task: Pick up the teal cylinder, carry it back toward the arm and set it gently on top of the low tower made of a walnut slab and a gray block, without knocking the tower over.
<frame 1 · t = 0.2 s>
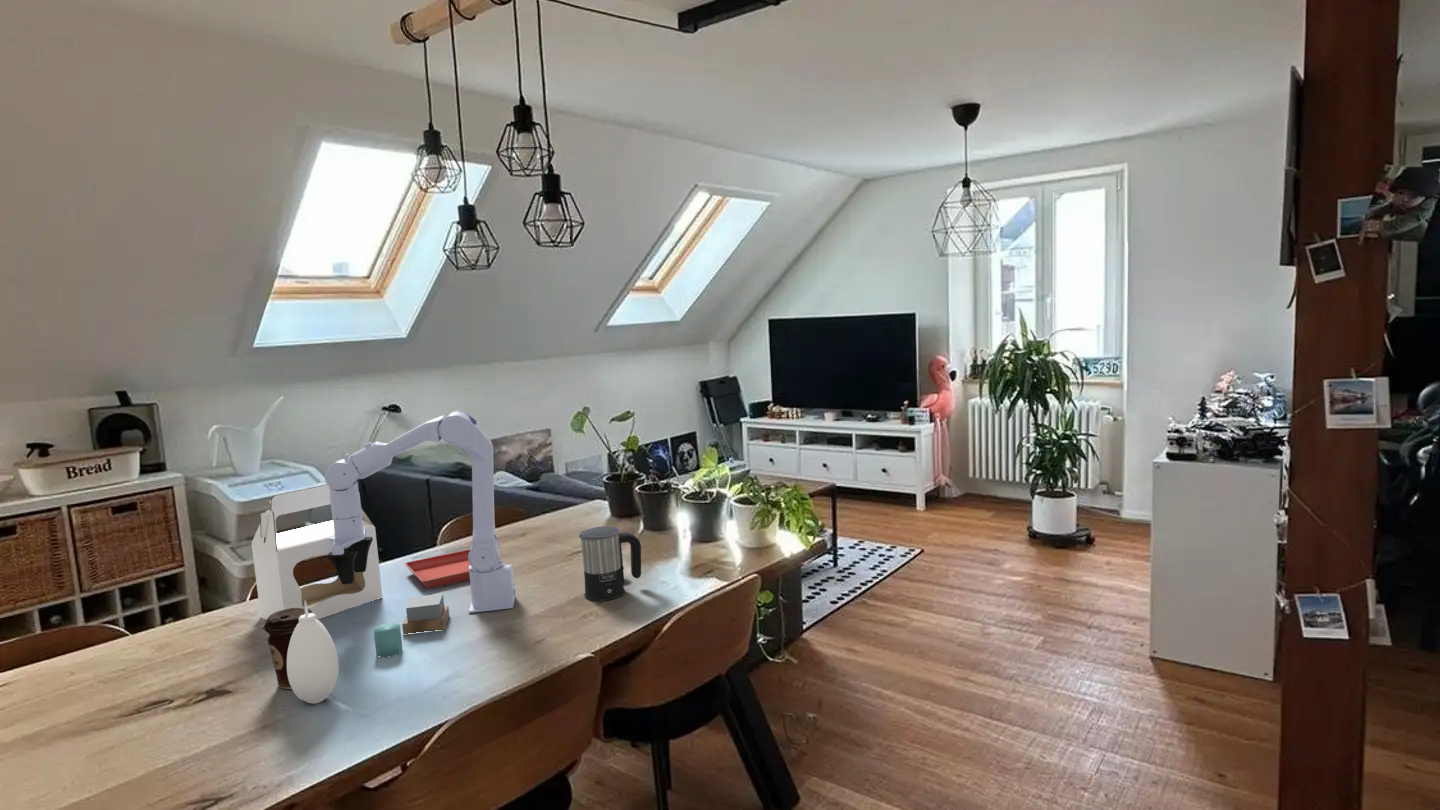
hand: (354, 577, 171), 10 cm above the table, tool pointing down, fingers open, 7 cm apart
plant saucer: (450, 576, 202), on the table
walnut slab: (427, 628, 168), on the table, touching gray block
coffee cup: (297, 683, 144), on the table
milk frother: (605, 589, 186), on the table
gable box: (323, 608, 182), on the table
gray block: (426, 614, 168), point 2 cm above the table, touching walnut slab
sauce bottle: (317, 702, 137), on the table
teal cylinder: (389, 652, 156), on the table
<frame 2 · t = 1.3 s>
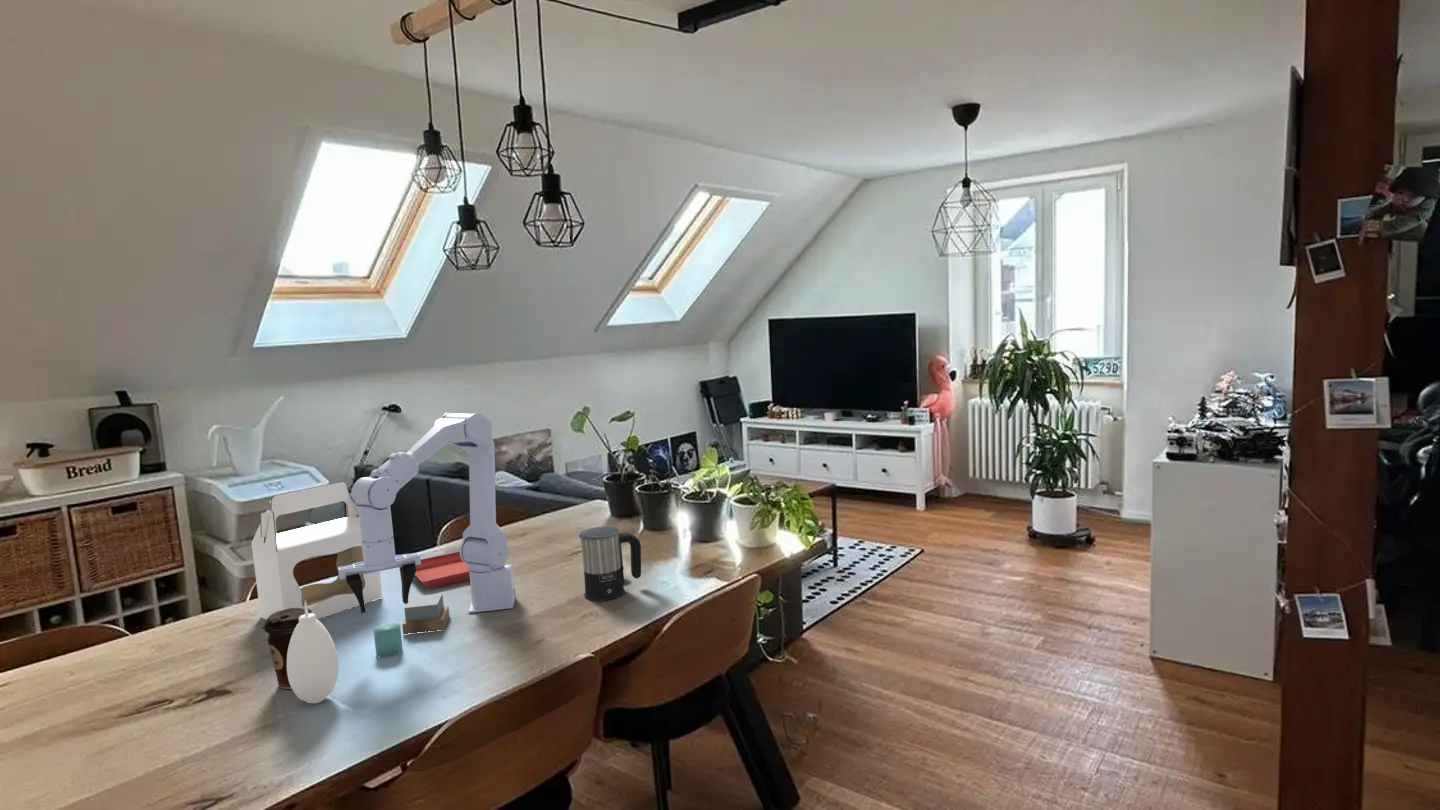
hand: (384, 606, 154), 9 cm above the table, tool pointing down, fingers open, 7 cm apart
walnut slab: (427, 628, 168), on the table
gray block: (425, 614, 168), point 2 cm above the table
everything else where it was.
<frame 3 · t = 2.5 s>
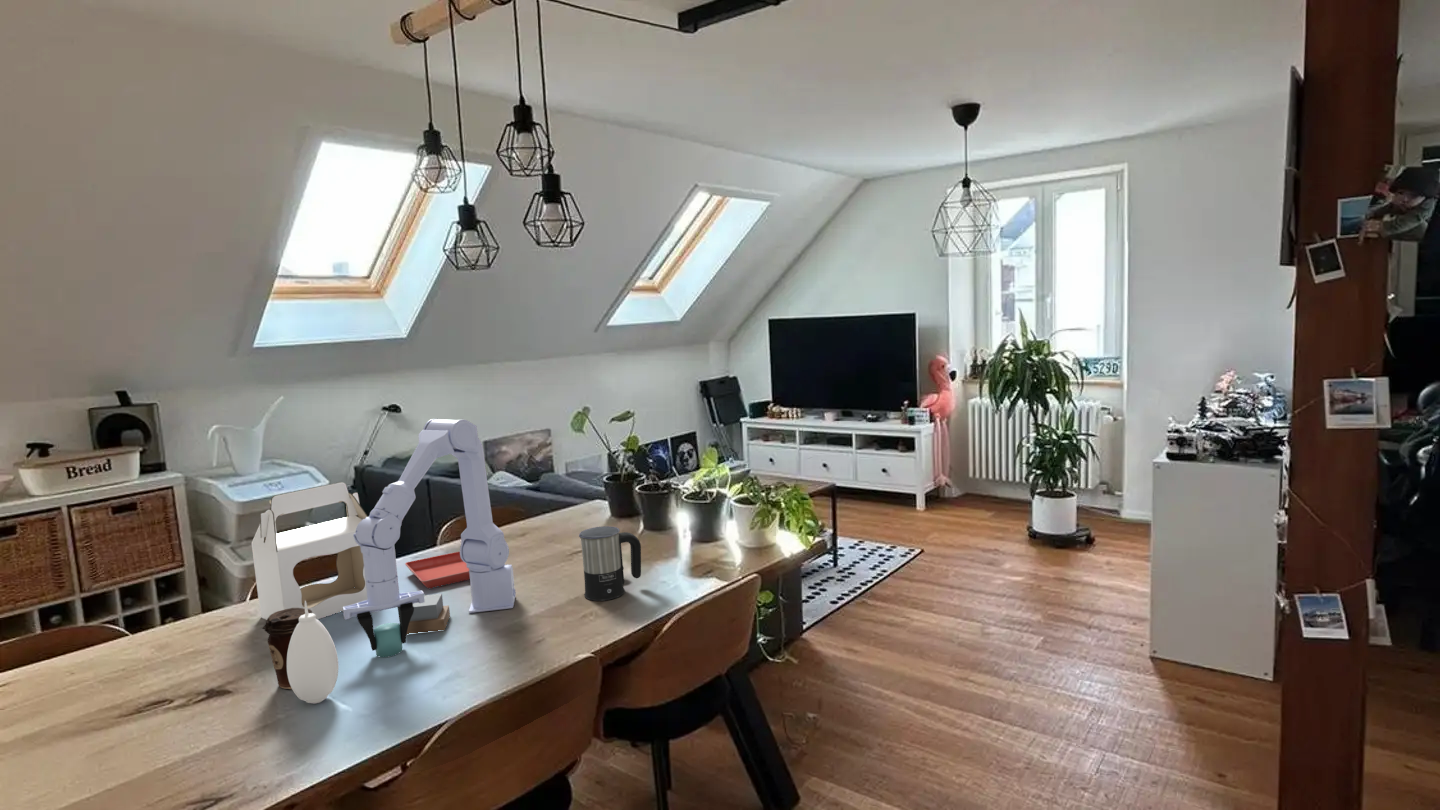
hand: (388, 645, 155), 1 cm above the table, tool pointing down, fingers closed on teal cylinder, 5 cm apart
walnut slab: (427, 627, 168), on the table, touching gray block
gray block: (424, 614, 168), point 3 cm above the table, touching walnut slab
teal cylinder: (389, 651, 156), on the table, touching gripper
everything else where it was.
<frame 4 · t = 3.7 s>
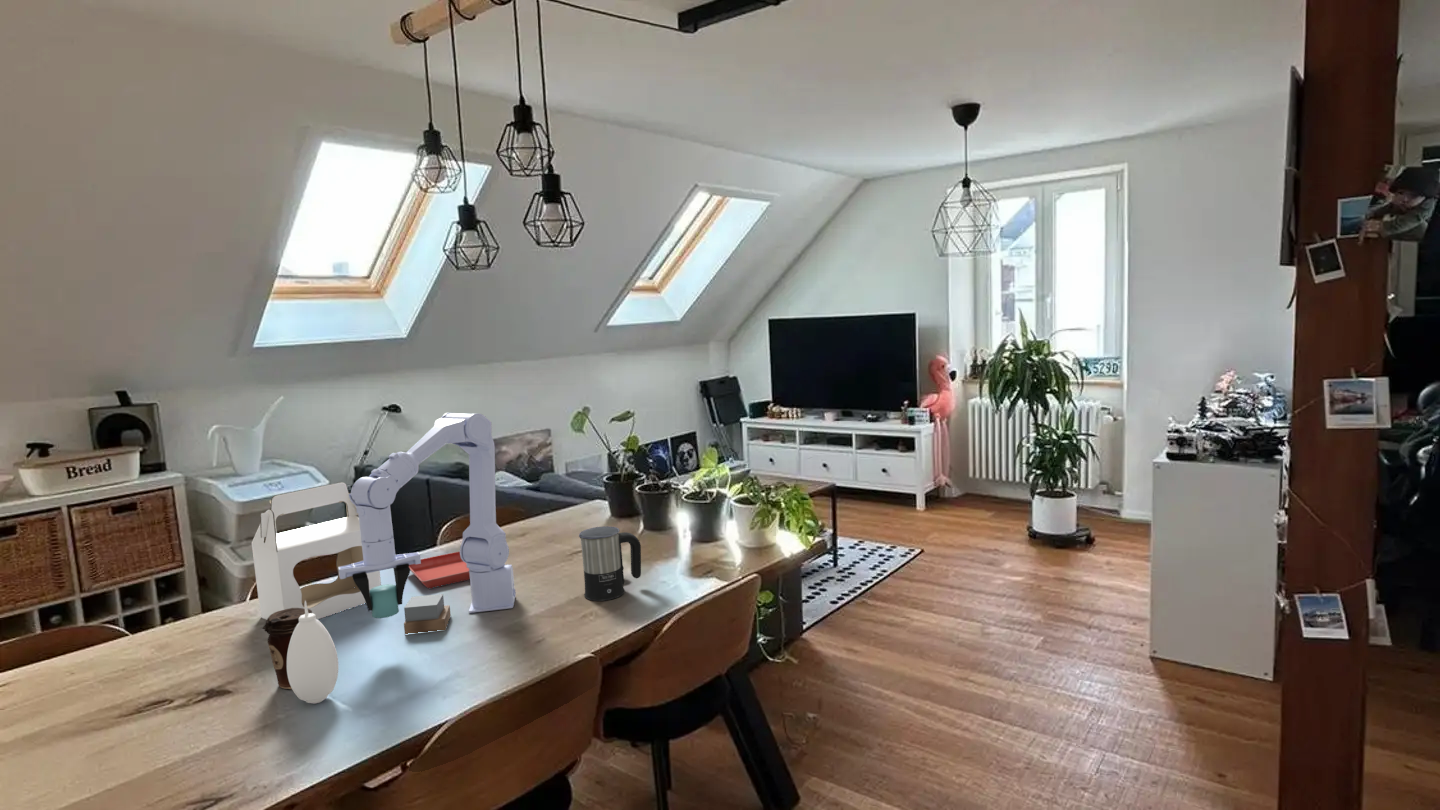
hand: (384, 606, 155), 9 cm above the table, tool pointing down, fingers closed on teal cylinder, 5 cm apart
teal cylinder: (385, 613, 155), point 8 cm above the table, touching gripper
everything else where it was.
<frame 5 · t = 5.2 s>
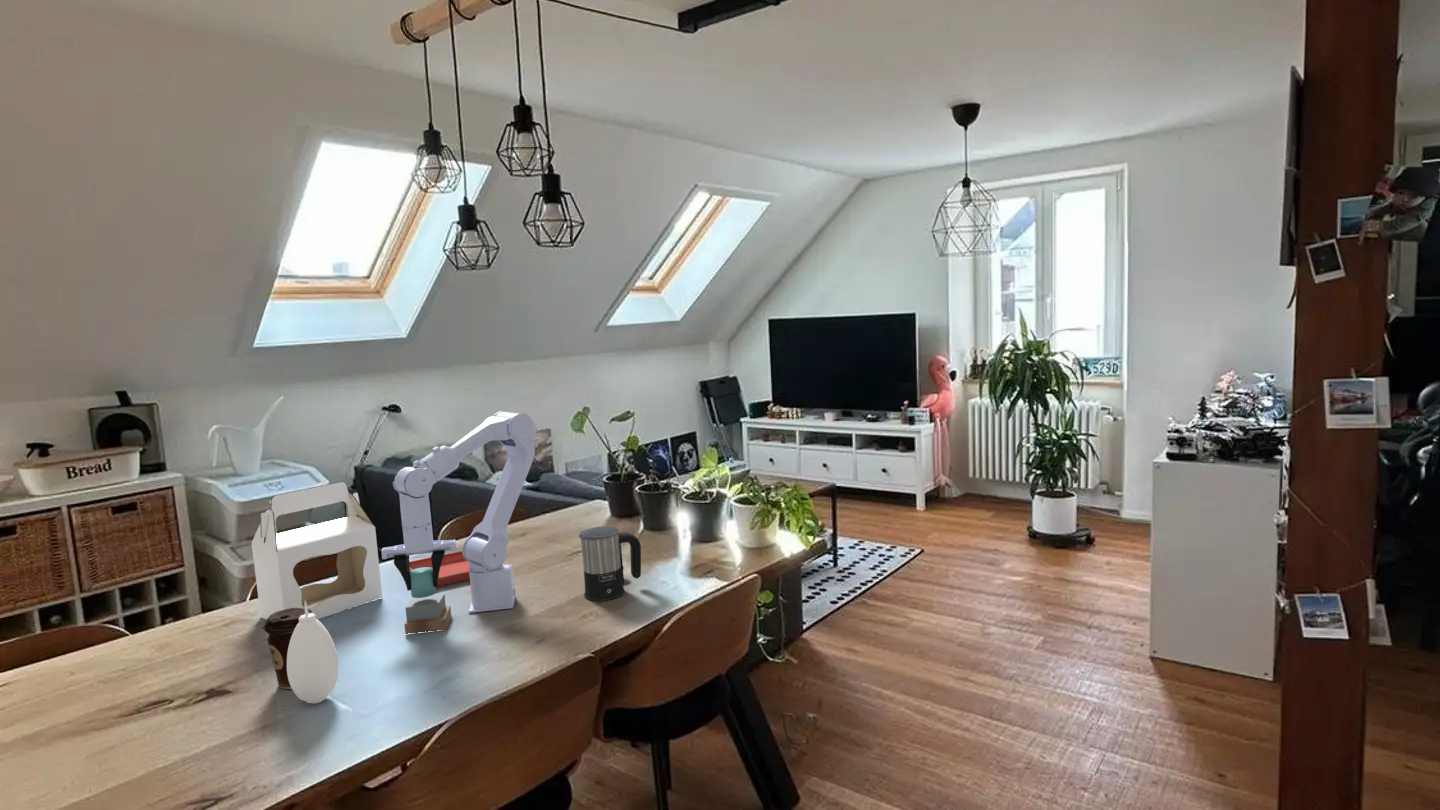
hand: (423, 587, 167), 8 cm above the table, tool pointing down, fingers closed on teal cylinder, 5 cm apart
walnut slab: (429, 627, 168), on the table
gray block: (426, 614, 168), point 2 cm above the table
teal cylinder: (423, 593, 167), point 7 cm above the table, touching gripper
everything else where it was.
when the fingers open (8 cm above the table, at t = 5.5 s): teal cylinder drops 1 cm, resting on gray block.
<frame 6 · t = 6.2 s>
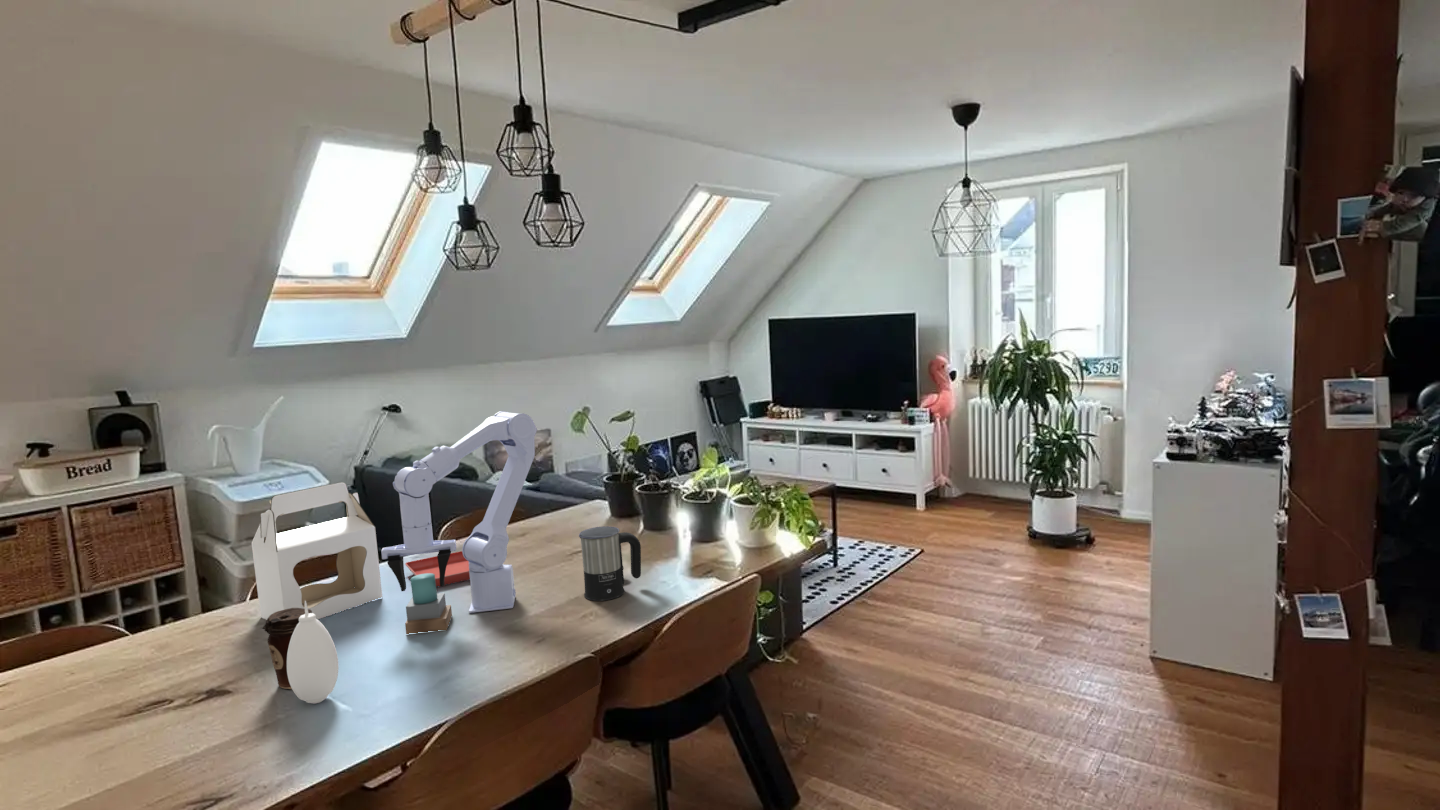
hand: (423, 587, 167), 8 cm above the table, tool pointing down, fingers open, 7 cm apart
walnut slab: (430, 627, 168), on the table, touching gray block
gray block: (427, 613, 168), point 3 cm above the table, touching teal cylinder, walnut slab
teal cylinder: (425, 599, 168), point 6 cm above the table, touching gray block
everything else where it was.
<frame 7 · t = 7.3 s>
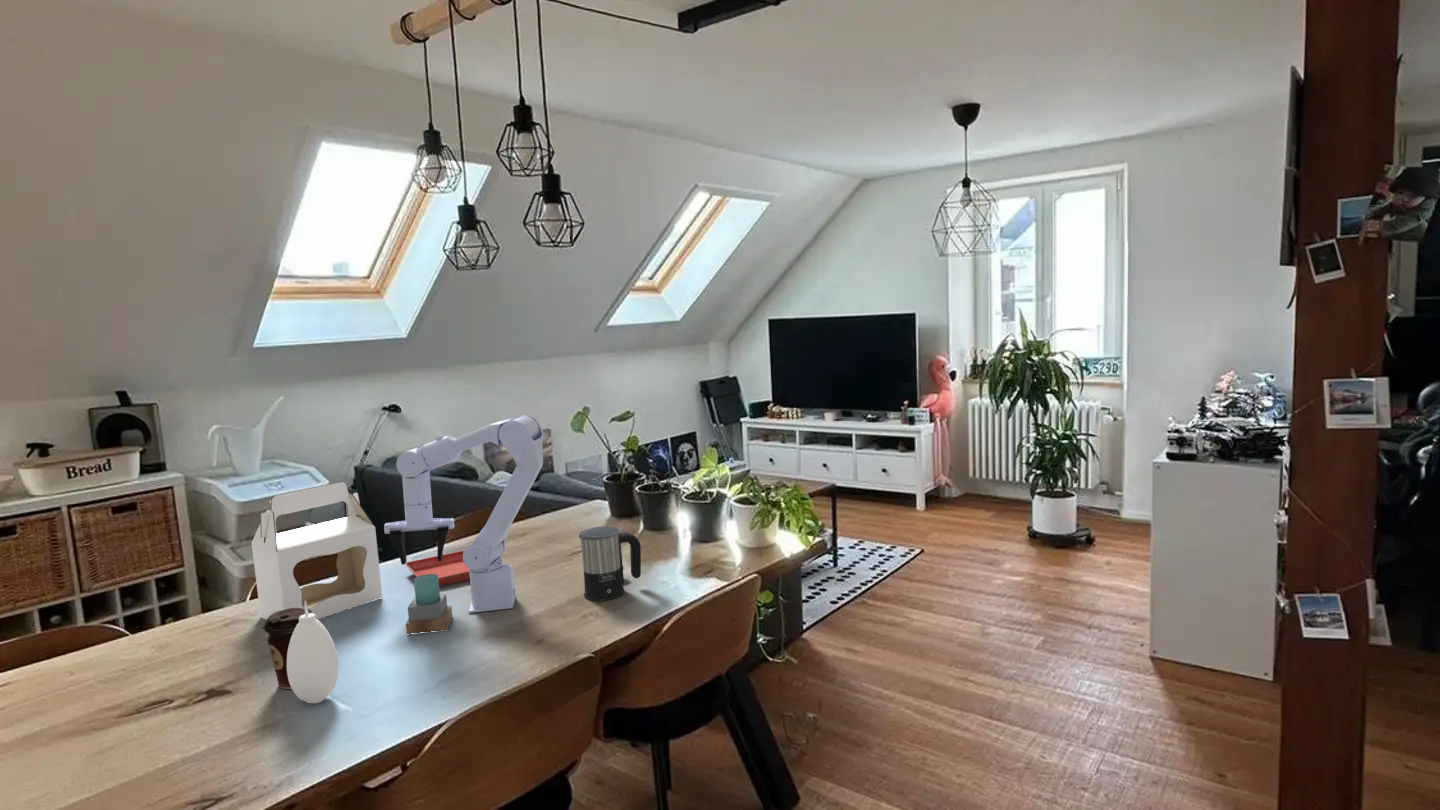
hand: (422, 561, 178), 10 cm above the table, tool pointing down, fingers open, 7 cm apart
walnut slab: (430, 628, 168), on the table
gray block: (428, 614, 168), point 2 cm above the table, touching teal cylinder
everything else where it was.
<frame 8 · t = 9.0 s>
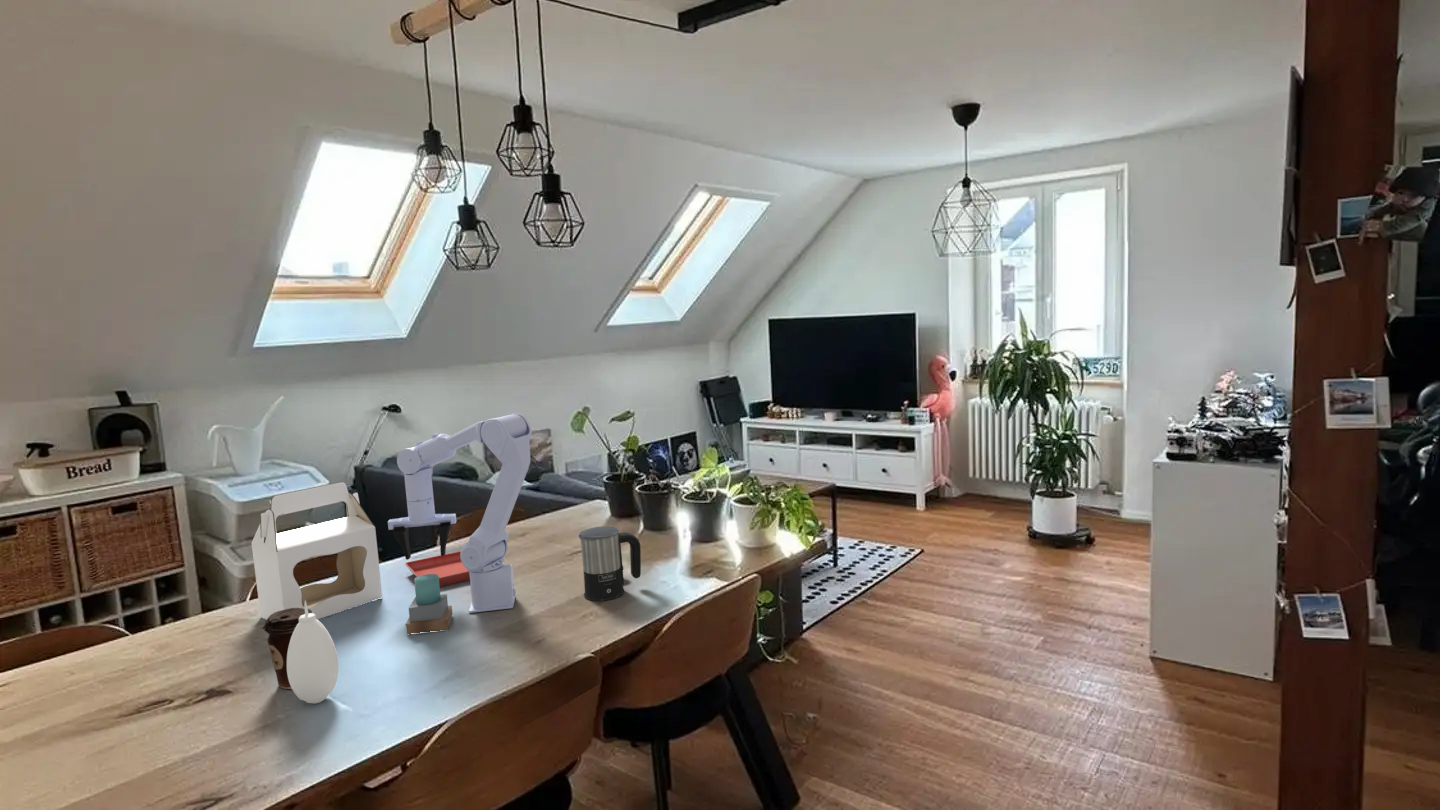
hand: (425, 556, 182), 10 cm above the table, tool pointing down, fingers open, 7 cm apart
walnut slab: (430, 627, 168), on the table, touching gray block
gray block: (429, 614, 168), point 2 cm above the table, touching walnut slab
teal cylinder: (428, 600, 167), point 5 cm above the table
everything else where it was.
at the end: teal cylinder 0.1 cm off-centre on the gray block, point 3.1 cm above the gray block's base; gray block moved 1.0 cm from its start; walnut slab moved 1.0 cm from its start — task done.
